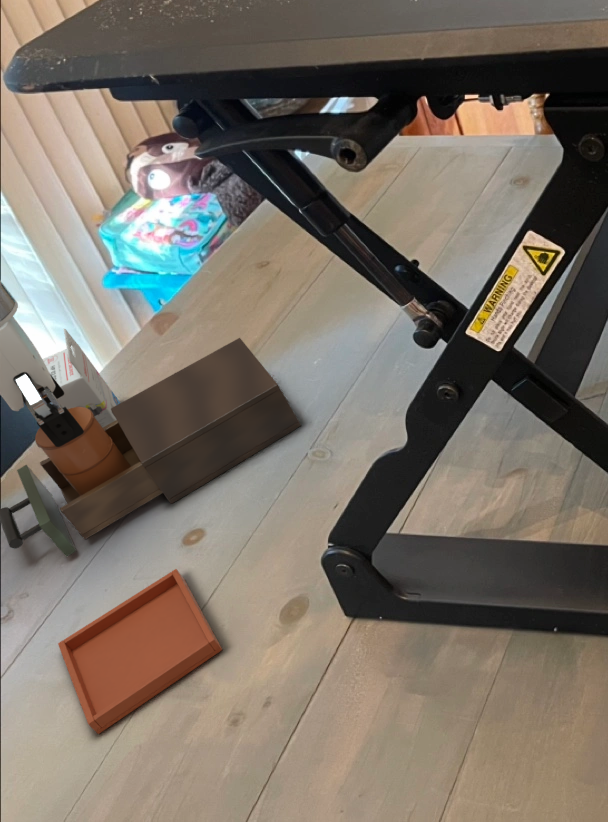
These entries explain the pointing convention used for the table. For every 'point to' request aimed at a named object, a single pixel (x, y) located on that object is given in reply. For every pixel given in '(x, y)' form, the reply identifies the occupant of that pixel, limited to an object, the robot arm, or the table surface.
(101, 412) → the ink box
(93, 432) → the lidded orange canister
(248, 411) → the cabinet
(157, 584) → the tray
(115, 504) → the drawer
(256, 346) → the table surface
